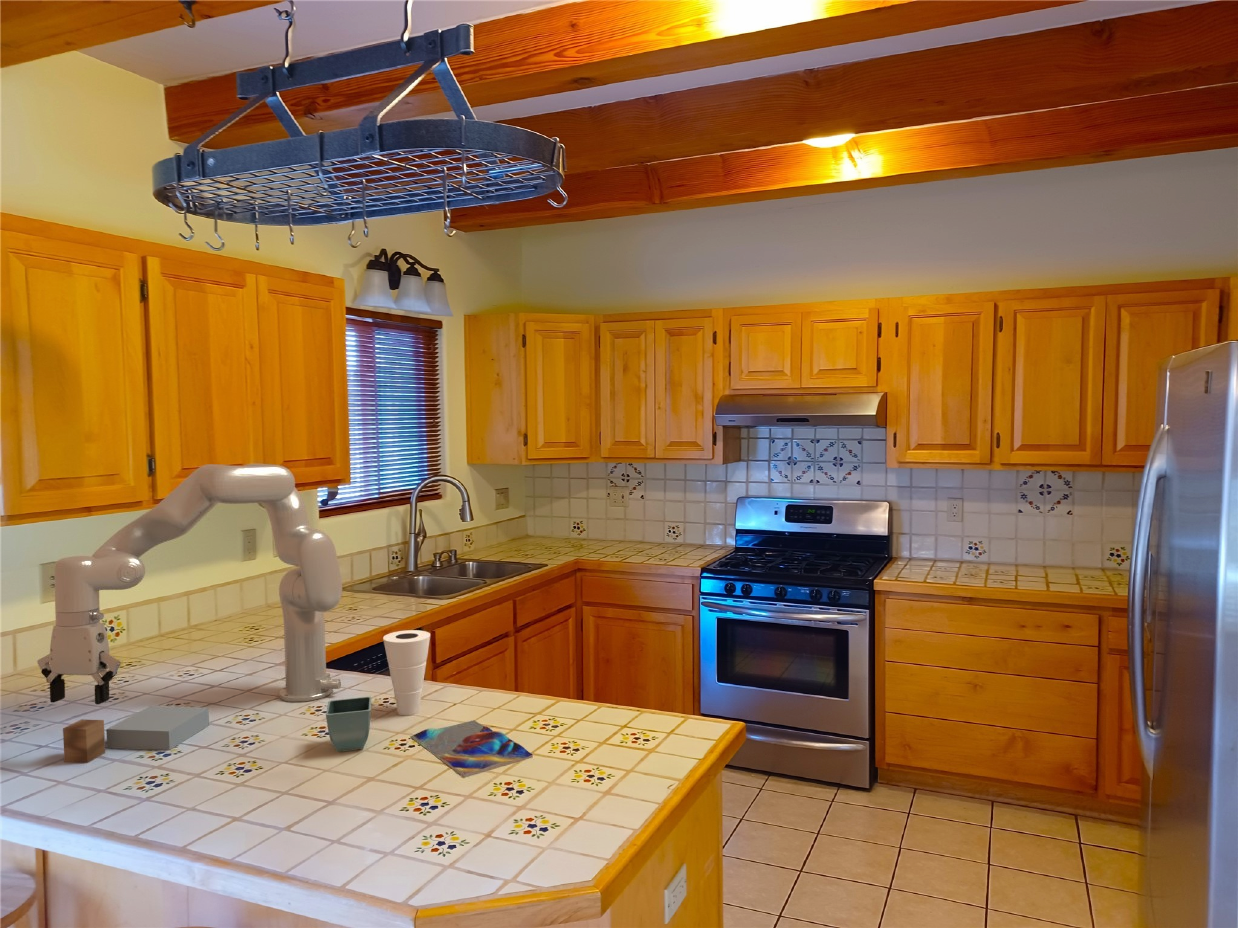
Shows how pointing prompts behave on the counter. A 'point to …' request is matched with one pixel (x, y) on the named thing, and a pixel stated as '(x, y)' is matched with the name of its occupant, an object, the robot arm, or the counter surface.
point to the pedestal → (157, 728)
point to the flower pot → (349, 723)
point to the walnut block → (84, 741)
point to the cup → (407, 667)
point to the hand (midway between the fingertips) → (79, 701)
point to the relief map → (471, 747)
